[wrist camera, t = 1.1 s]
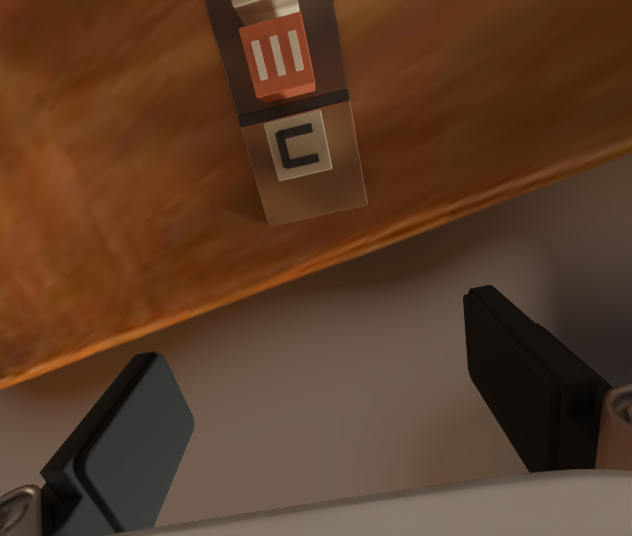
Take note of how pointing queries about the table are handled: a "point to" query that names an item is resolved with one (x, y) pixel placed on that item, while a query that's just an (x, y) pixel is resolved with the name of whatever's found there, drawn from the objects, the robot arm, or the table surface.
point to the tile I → (263, 9)
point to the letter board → (329, 96)
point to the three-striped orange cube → (278, 57)
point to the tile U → (298, 145)
